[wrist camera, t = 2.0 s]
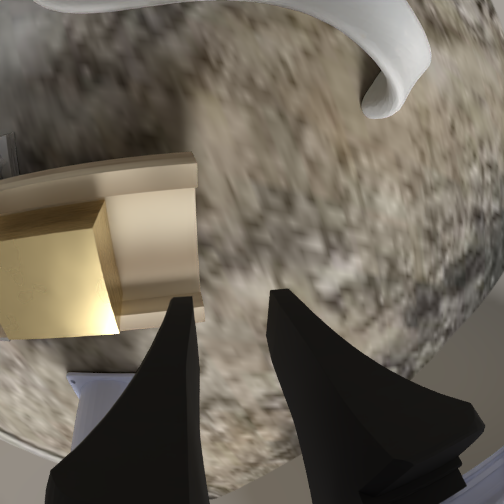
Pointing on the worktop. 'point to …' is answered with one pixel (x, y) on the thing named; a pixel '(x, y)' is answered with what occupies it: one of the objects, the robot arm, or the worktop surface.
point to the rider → (59, 273)
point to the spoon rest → (347, 21)
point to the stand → (8, 163)
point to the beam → (131, 224)
